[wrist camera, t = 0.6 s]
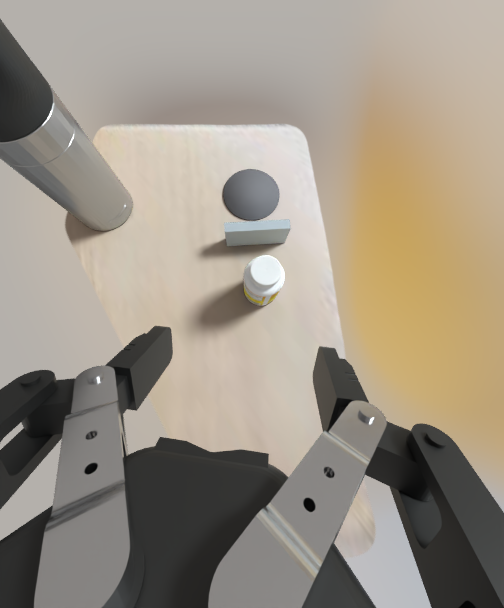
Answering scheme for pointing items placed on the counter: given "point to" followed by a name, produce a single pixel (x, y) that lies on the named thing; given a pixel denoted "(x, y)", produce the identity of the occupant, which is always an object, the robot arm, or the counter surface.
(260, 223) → the low wall
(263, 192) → the resting mat
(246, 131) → the counter surface
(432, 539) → the robot arm
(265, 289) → the supplement bottle
